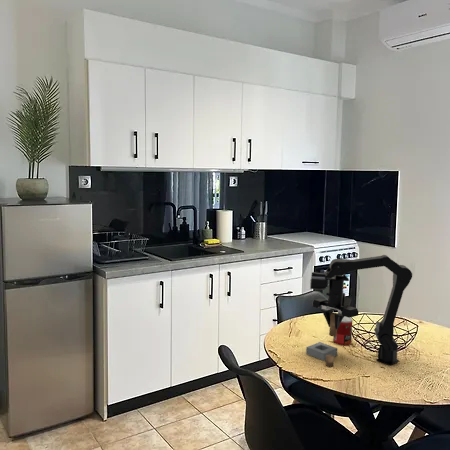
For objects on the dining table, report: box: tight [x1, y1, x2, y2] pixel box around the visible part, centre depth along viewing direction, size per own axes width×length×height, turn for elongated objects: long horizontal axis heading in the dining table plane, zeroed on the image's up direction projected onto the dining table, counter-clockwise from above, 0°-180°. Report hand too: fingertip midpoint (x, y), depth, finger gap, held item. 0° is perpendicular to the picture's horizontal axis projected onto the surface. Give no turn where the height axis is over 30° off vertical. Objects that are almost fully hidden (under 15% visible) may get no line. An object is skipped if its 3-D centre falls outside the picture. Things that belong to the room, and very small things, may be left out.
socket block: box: [305, 341, 338, 362], centre depth 196 cm, size 9×9×3 cm
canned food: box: [332, 316, 353, 346], centre depth 210 cm, size 8×8×11 cm
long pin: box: [328, 312, 338, 337], centre depth 192 cm, size 3×3×9 cm
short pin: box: [325, 355, 335, 368], centre depth 185 cm, size 3×3×4 cm
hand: (333, 327), depth 192 cm, fingers closed on long pin, 3 cm apart
